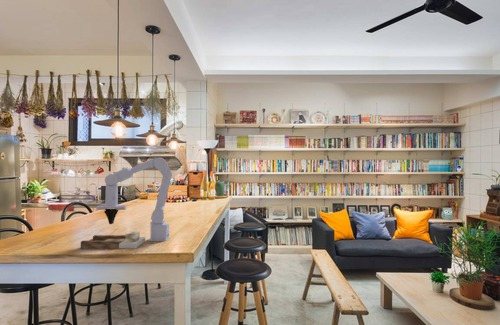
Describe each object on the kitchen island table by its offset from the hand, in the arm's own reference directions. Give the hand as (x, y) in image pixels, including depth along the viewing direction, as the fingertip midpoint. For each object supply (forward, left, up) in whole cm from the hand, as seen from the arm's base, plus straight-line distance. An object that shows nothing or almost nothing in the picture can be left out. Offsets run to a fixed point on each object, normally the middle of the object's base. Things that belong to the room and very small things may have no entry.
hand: (111, 223), depth 146 cm
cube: (-13, +5, -7) cm, 16 cm away
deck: (-4, +5, -9) cm, 11 cm away
